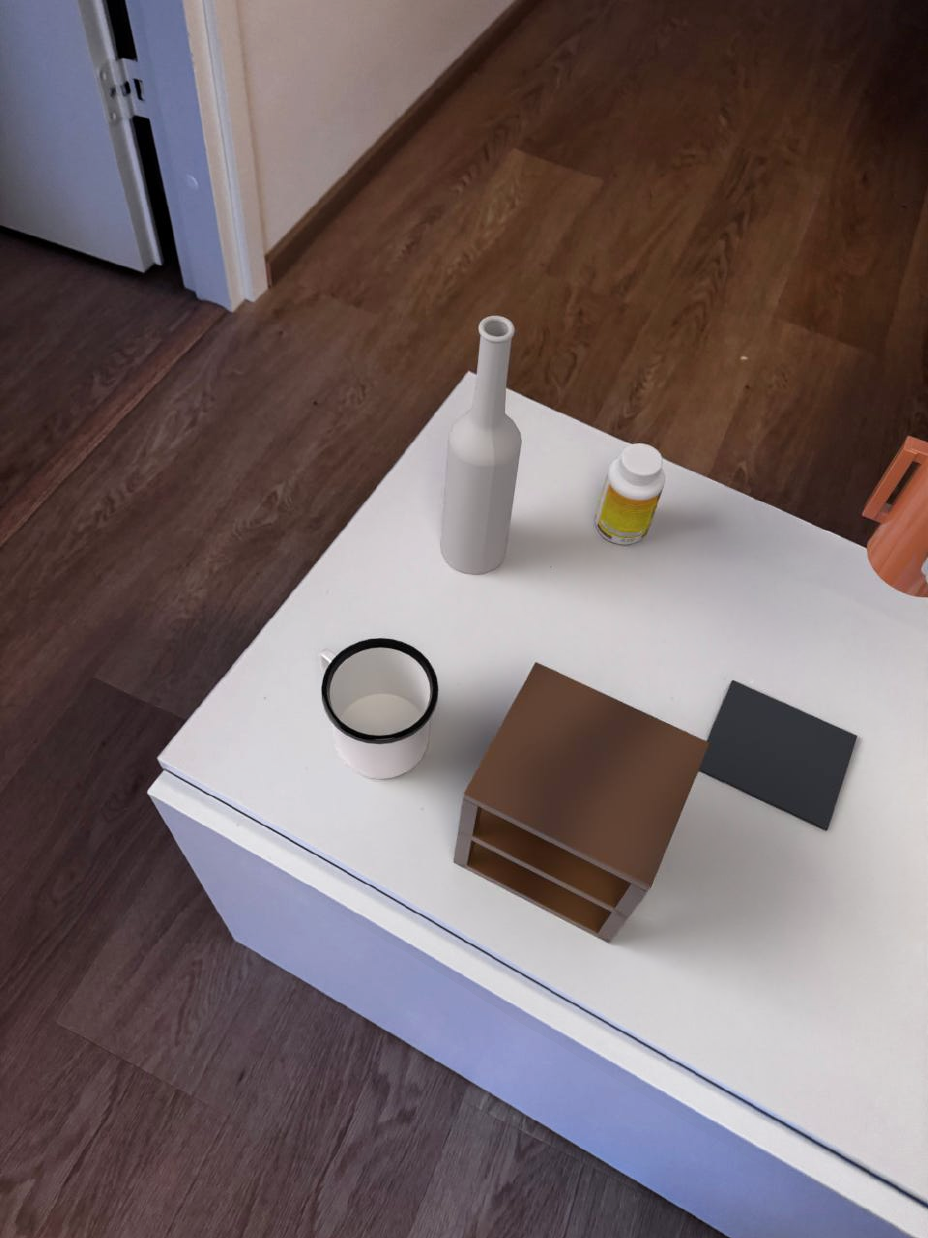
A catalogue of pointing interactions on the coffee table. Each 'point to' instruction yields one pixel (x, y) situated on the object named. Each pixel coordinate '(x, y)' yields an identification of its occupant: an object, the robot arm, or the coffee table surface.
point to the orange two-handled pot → (901, 522)
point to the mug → (379, 705)
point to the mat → (778, 754)
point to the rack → (576, 801)
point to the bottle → (482, 462)
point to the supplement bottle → (630, 494)
